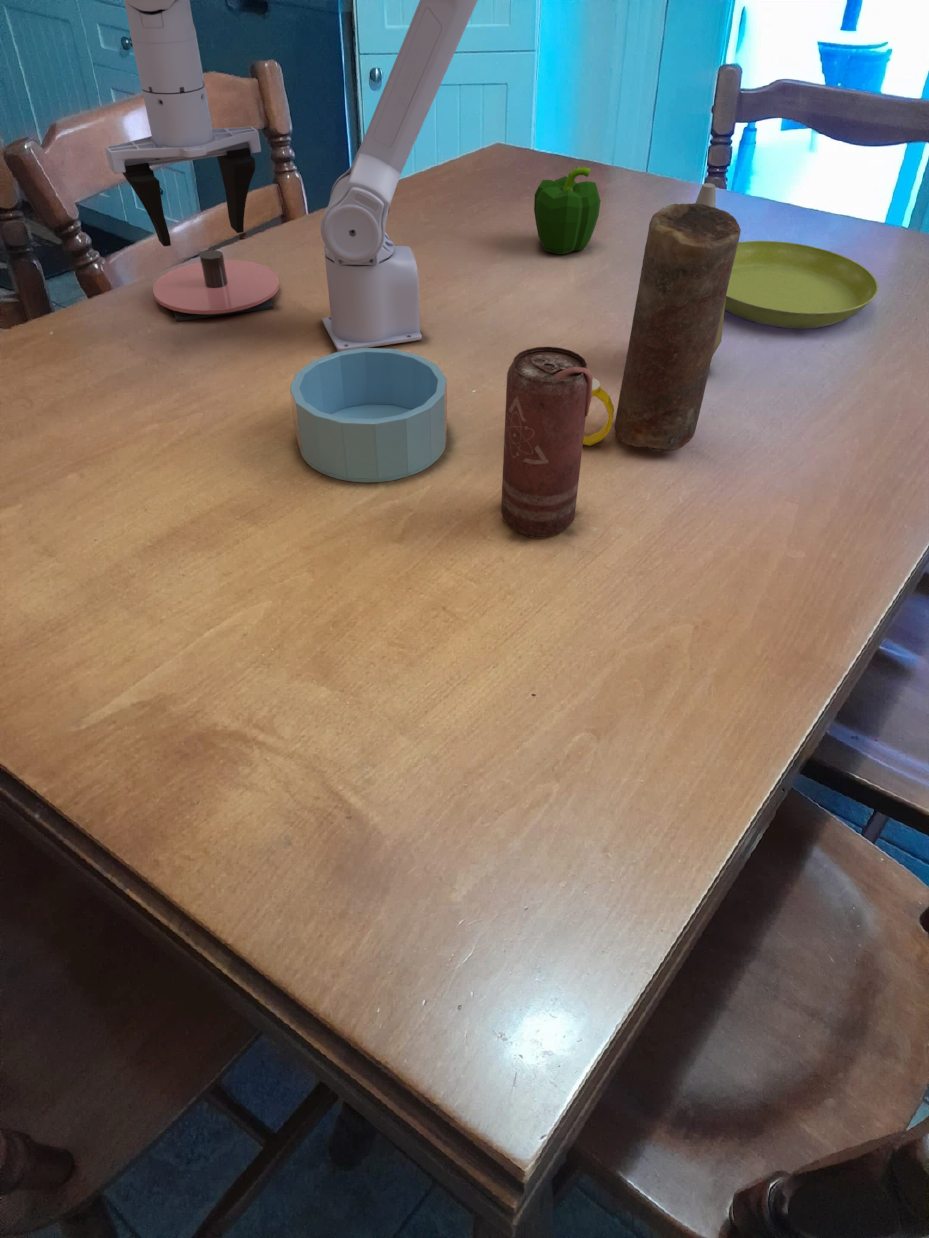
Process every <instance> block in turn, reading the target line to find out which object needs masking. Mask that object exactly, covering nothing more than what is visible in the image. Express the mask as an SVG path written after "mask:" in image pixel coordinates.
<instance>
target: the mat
mask: <svg viewBox="0 0 929 1238" xmlns="http://www.w3.org/2000/svg"><path fill="white" fill-rule="evenodd" d="M271 309H272V310H273V309H274V304H273V303H272V300H271V298H270V299H268V300H267V301H265V302H263V303H261V304H258V305H256V306H253V307H250V308H247V309H244V310H239V311H235V312H229V313H220V314H190V313H183V312H179V311H175V310H173V314H174V318H175V320H176V322H184V321H190V320H196V319H204V318H205V319H206V318H212V317H219V316H226V315H227V316H228V315H234V314H235V315H236V314H241V313H242V314H243V313H249V312H256V311H263V310H271Z"/></svg>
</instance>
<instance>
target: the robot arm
mask: <svg viewBox="0 0 929 1238" xmlns="http://www.w3.org/2000/svg"><path fill="white" fill-rule="evenodd" d="M478 1H479V0H419V1H418V4H417V6H416V9H415V11H414V14H413V16H412V19H411V21H410V24H409V26H408V29H407V30H406V32H405V33H406V34H405V36H404V38H403V41H402V43H401V46H400V48H399V51H398V53H397V56H396V58H395V60H394V63H393V65H392V68H391V70H390V73H389V75H388V77H387V80H386V83H385V84H384V87H383V89H382V93H381V95H380V98H379V100H378V102H377V105H376V107H375V109H374V112H373V114H372V117H371V119H370V121H369V124H368V127H367V129H366V132H365V134H364V137H363V138H362V141H361V143H360V146H359V148H358V150H357V152H356V154H355V157H354V159H353V161H352V164H351V166H350V167H349V168H348V169H347V170H346V172H344V173H343V174H341V175H340V176H339V177H338V178H337V179H336V180H335V182H334V183H333V185H332V187H331V190H330V196H329V202H328V204H327V207H326V209H325V211H324V213H323V215H322V218H321V222H320V235H321V238H322V241H323V244H324V247H323V248H324V249H323V250H324V251H323V252H324V261H325V272H326V280H327V281H326V282H327V291H328V302H329V312H330V316H326V317H322V319H321V320H322V321H321V322H322V324H323V326H324V328H325V331H326V332H327V333H328V336H329V337H330V339H331V342H332V343H333V345H334V348H335V349H336V351H337V352H339V351H346V350H353V349H360V348H377V347H383V346H389V345H395V344H396V345H397V344H403V343H409V342H416V341H420V340H423V335H422V333H421V319H420V283H419V282H420V281H419V273H418V266H417V261H416V258H415V255H414V253H413V250H412V249H411V247H410V246H409V245H394V241H392V240H391V237H389V235H388V233H387V231H386V225H387V220H388V217H389V214H390V212H391V203H392V200H393V198H394V195H395V192H396V189H397V187H398V183H399V181H400V178H401V174H402V173H403V170H404V168H405V166H406V163H407V161H408V159H409V156H410V154H411V152H412V150H413V148H414V145H415V143H416V141H417V138H418V137H419V134H420V132H421V131H422V127H423V125H424V123H425V121H426V118H427V116H428V114H429V111H430V109H431V107H432V105H433V103H434V100H435V98H436V95H437V93H438V91H439V89H440V87H441V85H442V82H443V80H444V79H445V75H446V73H447V72H448V69H449V66H450V64H451V62H452V60H453V57H454V55H455V53H456V51H457V49H458V46H459V44H460V42H461V39H462V37H463V35H464V33H465V30H466V28H467V26H468V23H469V22H470V20H471V17H472V15H473V12H474V10H475V8H476V7H477V6H476V5H477V3H478ZM123 2H124V7H125V11H126V16H127V21H128V26H129V35H130V40H131V44H132V45H131V46H132V49H133V53H134V58H135V64H136V68H137V73H138V79H139V82H140V87H141V91H142V96H143V102H144V106H145V111H146V115H147V120H148V125H149V129H150V134H151V135H150V136H145V137H143V138H138V139H134V140H131V141H127V142H122V143H118V144H113V145H107V146H104V151H105V154H106V157H107V162H108V167H109V169H110V170H111V171H112V173H114V174H115V175H117V174H122V175H123V176H124V178H125V179H126V181H127V182H128V184H129V185H130V187H131V189H132V190H133V191H134V193H135V194H136V196H137V198H138V199H139V201H140V202H141V204H142V206H143V208H144V209H145V211H146V213H147V215H148V217H149V219H150V221H151V223H152V225H153V228H154V230H155V234H156V236H157V239H158V242H159V243H160V244H161V245H162V246H163V247H171V246H172V242H171V236H170V232H169V229H168V224H167V221H166V217H165V213H164V209H163V202H162V193H161V185H160V180H159V179H158V178H157V177H156V176H155V173H154V170H153V169H152V168H151V167H154V166H162V165H169V164H175V163H182V162H188V161H189V162H190V161H195V160H203V159H208V158H215V157H216V158H217V162H218V166H219V170H220V174H221V179H222V183H223V186H224V192H225V198H226V199H225V200H226V206H227V207H226V209H227V215H228V220H229V224H230V228H231V229H232V230H233V231H234V232H236V233H237V234H241V233H244V231H245V230H244V229H245V228H244V226H245V225H244V223H245V211H246V204H247V197H248V193H249V189H250V185H251V183H252V179H253V177H254V174H255V171H256V159H255V157H253V156H252V154H255V153H261V152H262V147H261V140H260V132H259V130H257V129H256V128H254V127H253V126H252V125H250V126H249V125H248V126H241V127H224V128H223V127H222V128H220V127H219V128H213V126H212V120H211V113H210V108H209V107H210V106H209V101H208V95H207V89H206V85H205V84H206V83H205V79H204V78H205V77H204V72H203V71H204V70H203V66H202V65H203V64H202V61H201V55H200V49H199V43H198V36H197V31H196V27H195V24H194V20H193V19H194V18H193V13H192V8H191V1H190V0H123Z"/></svg>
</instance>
